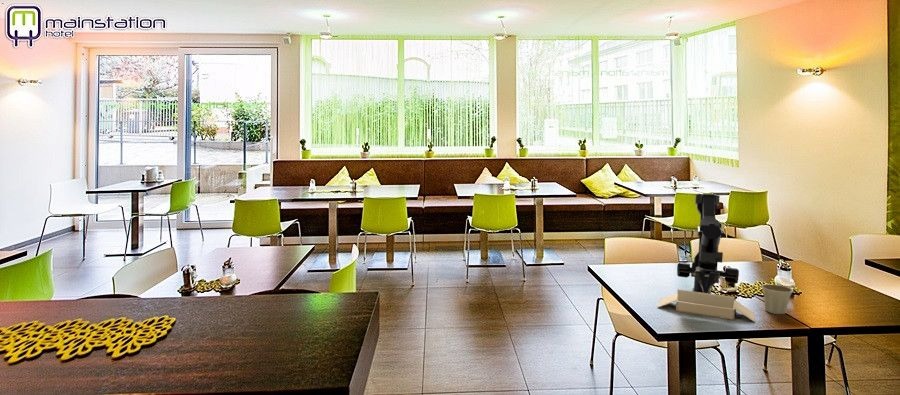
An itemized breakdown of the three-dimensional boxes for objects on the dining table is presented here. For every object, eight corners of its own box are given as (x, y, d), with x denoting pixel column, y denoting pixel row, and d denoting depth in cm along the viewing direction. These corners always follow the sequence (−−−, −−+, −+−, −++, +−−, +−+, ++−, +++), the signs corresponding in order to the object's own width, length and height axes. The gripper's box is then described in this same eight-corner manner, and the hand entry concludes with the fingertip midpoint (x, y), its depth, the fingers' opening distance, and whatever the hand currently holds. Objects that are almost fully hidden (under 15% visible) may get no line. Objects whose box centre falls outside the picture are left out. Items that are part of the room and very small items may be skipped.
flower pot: (796, 317, 179) (798, 292, 178) (765, 315, 181) (767, 290, 180) (784, 308, 188) (786, 285, 187) (755, 306, 190) (757, 283, 189)
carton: (661, 296, 200) (662, 287, 200) (753, 309, 186) (753, 299, 186) (657, 308, 187) (657, 297, 186) (755, 322, 173) (756, 311, 172)
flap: (677, 299, 183) (677, 289, 178) (733, 307, 175) (734, 296, 170) (677, 301, 182) (677, 290, 177) (733, 309, 174) (734, 298, 170)
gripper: (679, 239, 181) (674, 279, 173) (740, 245, 172) (739, 287, 164) (679, 256, 189) (675, 295, 181) (738, 262, 180) (736, 303, 172)
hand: (705, 294), depth 174 cm, fingers closed, pressing on flap
